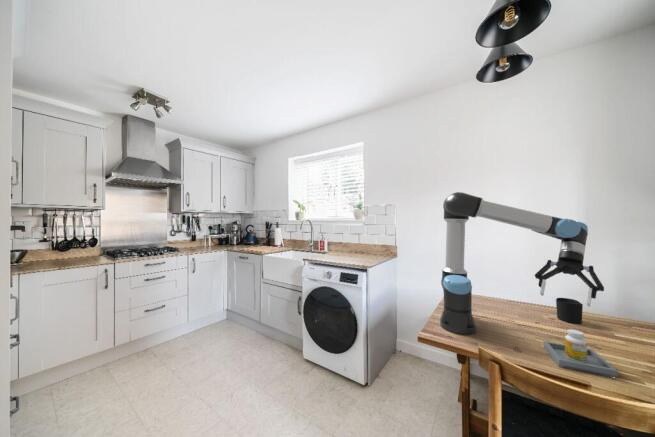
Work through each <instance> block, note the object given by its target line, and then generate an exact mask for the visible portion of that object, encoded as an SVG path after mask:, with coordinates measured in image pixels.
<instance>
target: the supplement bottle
mask: <svg viewBox="0 0 655 437" xmlns="http://www.w3.org/2000/svg"><path fill="white" fill-rule="evenodd" d="M584 337H585V334H584V332H582V331H580V330H577V329H570V328H569V329H567V334H566V335H565V336H564V345H565V356H566V357H567V358H569V359H571V360H573V361H576V362H581V363H585V362H587V349H588V346H587V345H588V344H587V341H586V339H585V338H584Z"/></svg>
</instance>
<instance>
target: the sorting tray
mask: <svg viewBox="0 0 655 437" xmlns="http://www.w3.org/2000/svg"><path fill="white" fill-rule="evenodd" d="M543 348H544V349H545V351H546V352H547V354H548V355H549V356H550V358H552V360H553V361H554V363H555V364H556V365H557V366H558V367H559V368H562V369H569V370H572V371H577V372H582V373H587V374H592V375H597V376H601V377H607V378H611V377H615V378H614V379H616V378H617V379H618V370H617V369H616V368H615V367H614V366H612V365H611V364H610V363H609V362H608V361H607V360H606V359H604V358H603V357H602V356H601V355H600V354H599V353H597V352H596V351H595V350H594V349H593V348H587V362H585V363H581V362H576V361H573V360H571V359H569V358H567V357H566V356H565V343H557V342H552V341H548V340H543Z"/></svg>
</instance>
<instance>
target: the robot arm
mask: <svg viewBox="0 0 655 437" xmlns="http://www.w3.org/2000/svg"><path fill="white" fill-rule="evenodd" d="M470 217H471V218H478V217H480V218H484V219H488V220H491V221H495V222H499V223H503V224H508V225H511V226H514V227H519V228H523V229H527V230H531V231H532V232H535V233H537V234H541V235H544V236H548V237H551V238H554V239H557V240H560V241H561V243H560V248H559V254H558V257H557V261H552V260H551V259H547V262H546V264H545V265H543V267H542V268H540V269H539V270H538V271H537V272H536V273H535V274H534V277H535V279H537V280H538V287H539V288H540V290H539V291H540V292H539V294H540V296H544V293H545V288H546V285H547V284H546V283H547V282H546V280H548V279H550V278H552V277H554V276H556V275H558V274H561V273H562V274H565V275H571V276H574V275H576V276H577V277H578V278H580V280H581V281H583V283H585V285H587V287H589V288H588V292H587V293H588V294H587V300H586V306H587V307H591V302H592V299H594V300H595V299H596V298H597V292H599V291H600V292H604V291H605V287H604V285H603V284H602V282H601V280H600V279H599V277H598V275H597V274H596V272H595V271H594V266H593V265H588V266H585V265H584V258H585V253H586V244H587V240H588V239H587V238H588V235H589V233H588V232H589V229H588V225H587V224H586V223H584V222H582V221H576V220H574V219H570V218H561V217H556V216H552V215H547V214H545V213H544V214H543V213H539V212H535V211H531V210H526V209H521V208H518V207H512V206H508V205H504V204H501V203H496V202H490V201H487V200H484V198H483V197H481V196H480V197H479V196H475V195H472V194H469V193H466V192H460V191H457V192H453V193H451V194H449V196H447V197H446V198H445V199H444V201H443V220H444V221H445V222H446V236H445V237H446V239H445V240H446V241H445V242H446V243H445V266H444V267H443V268H442V270H441V272H442V274H441V279H440V280H441V282H440V283H441V287H442V290H443V310H442V312H441V315H440V318H439V325H440V327H441V328H442V329H444V330H447V331H448V332H450V333H453V334H458V335H473V334H475V333H476V332H477V325H476V321H475V319H474V316H473V315H474V314H473V312H472V311H473V309H472V308H473V307H472V306H473V305H472V304H473V302H472V300H473V299H472V297H473V296H472V289H473V285H472V282H471V279H470V278H468V271H467V270H466V268H465V248H466V246H465V242H466V240H465V239H466V237H465V236H466V223H467V222H468V221H469V219H470ZM553 266H556V267H555V268H554V269H552V270H550V268H552V267H553ZM549 270H550V271H549ZM584 270H585V271H586V272H587V273H589V275H590V277H591V279H592V280H593V281H594V283H595V284H594V283H593V282H592V281H591V280H590V279H589V278H588V277H587V276H586V275H585V274H584V273H583V271H584Z"/></svg>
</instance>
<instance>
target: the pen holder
mask: <svg viewBox="0 0 655 437" xmlns="http://www.w3.org/2000/svg"><path fill="white" fill-rule="evenodd" d="M555 303H556V304H555V305H556V318H557V319H558V320H559V321H561V322H564V323H568V324H573V325H574V324H575V325H580V324H582V323H583V308H584V306H583V305H584V304H583V303H581V302H580V301H578V300H576V299H574V298H567V297H556V298H555Z"/></svg>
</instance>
